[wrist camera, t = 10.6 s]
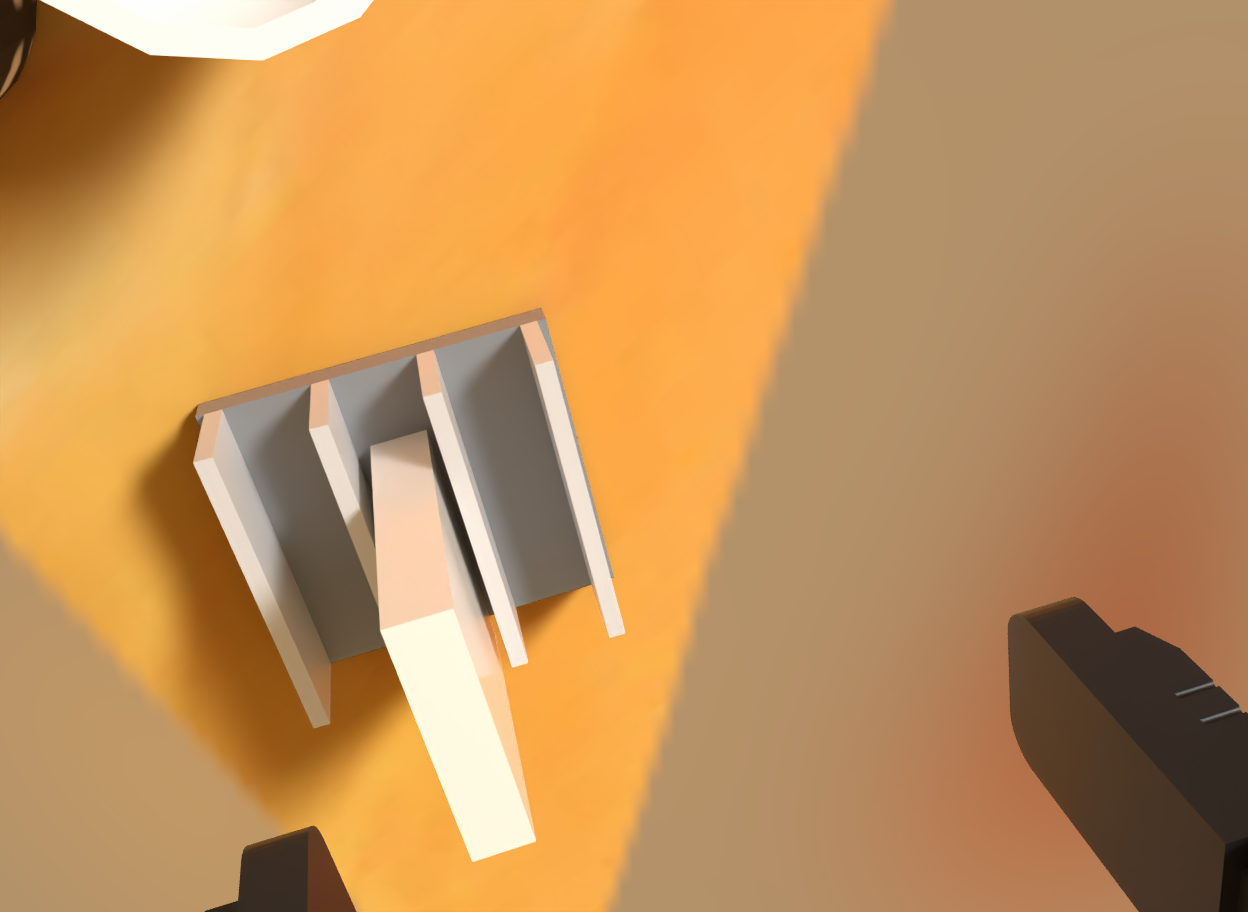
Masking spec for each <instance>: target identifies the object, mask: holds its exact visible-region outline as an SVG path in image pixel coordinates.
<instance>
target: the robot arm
mask: <svg viewBox="0 0 1248 912" xmlns="http://www.w3.org/2000/svg"><path fill="white" fill-rule="evenodd" d="M1008 650H1009V651H1008V654H1009V684H1010V685H1009V686H1010V712H1011V721H1012V726H1013V730H1014V733H1015V736H1016V739H1017V742H1018V744H1019V747H1020V749H1021V751H1022V753H1023V755H1024V757H1025V759H1026V761H1027V763H1028V764H1029V766H1030V767H1031V769H1032V770H1033V771H1034V773H1035V774H1036V775H1037V777H1038V778H1039V779H1040V781H1041V782H1042V783H1043V785H1044V786H1045V787H1046V789H1047V790H1048V791H1049V793H1050V794H1051V795H1052V797H1053V798H1054V799H1055V801H1056V802H1057V803H1058V805H1059V806H1060V807H1061V809H1062V810H1063V811H1064V813H1065V814H1066V815H1067V817H1068V818H1069V819H1070V821H1071V822H1072V823H1073V825H1074V826H1075V827H1076V828H1077V830H1078V831H1079V833H1080V834H1081V835H1082V837H1083V838H1084V839H1085V841H1086V842H1087V843H1088V845H1089V846H1090V847H1091V849H1092V850H1093V851H1094V852H1095V854H1096V855H1097V857H1098V858H1099V859H1100V861H1101V862H1102V863H1103V865H1104V866H1105V867H1106V869H1107V870H1108V871H1109V872H1110V874H1111V875H1112V877H1113V878H1114V879H1115V880H1116V882H1117V883H1118V885H1119V886H1120V887H1121V889H1122V890H1123V891H1124V892H1125V894H1126V895H1127V897H1128V898H1129V899H1130V901H1131V902H1132V903H1133V905H1134V906H1135V907H1136V908H1137V910H1138V911H1139V912H1248V713H1247V712H1245V713H1242V712H1241V710H1240V708H1239V705H1238V704H1237V703H1236V702H1235V701H1234V700H1233V699H1232V698H1231V697H1230V696H1229V695H1228V694H1227V693H1226V692H1225V691H1224V690H1223V689H1222V688H1221V687H1220V686H1218V687H1215V685H1214V684H1213V680H1212V679H1211V678H1210V677H1209V676H1208V675H1207V674H1206V673H1205V672H1204V671H1203V670H1202V669H1201V668H1200V667H1199V666H1198V665H1196V663H1194V662H1193V661H1192V660H1191V659H1190V658H1189V657H1188V656H1187V655H1186V654H1185V653H1184V652H1183V651H1182V650H1181V649H1180V648H1178V647H1176V646H1174V645H1172V644H1170V643H1168V642H1165V641H1163V640H1161V639H1159V638H1157V637H1155V636H1153V635H1151V634H1149V633H1147V632H1145V631H1143V630H1140V629H1139V628H1137V627H1132V628H1129V629H1126V630H1123V631H1119V632H1116V633H1115V632H1114V631H1113V630H1112V629H1111V628H1110V627H1109V626H1108V625H1107V624H1106V623H1105V622H1104V621H1103V620H1102V619H1101V618H1100V617H1099V616H1098V615H1097V614H1096V613H1095V612H1094V611H1093V610H1092V609H1091V608H1090V607H1089V606H1088V605H1087V604H1086V603H1085V602H1084V601H1082V600H1081V599H1079V598H1076V597H1071V598H1068V599H1065V600H1061V601H1058V602H1055V603H1052V604H1048V605H1046V606H1042V607H1038V608H1035V609H1032V610H1029V611H1025V612H1022V613H1019V614H1015V615H1013V616H1012V617H1011V618H1010V620H1009V623H1008ZM240 873H241V874H240V884H239V885H240V886H239V897H238V901H236V902H233V903H230V904H226V905H223V906H220V907H216V908H213V909H210V910H207V911H205V912H356V910H355V908H354V905H353V903H352V901H351V899H350V896H349V894H348V892H347V890H346V888H345V885H344V883H343V881H342V879H341V877H340V874H339V872H338V870H337V868H336V865H335V863H334V861H333V859H332V857H331V854H330V852H329V850H328V848H327V845H326V843H325V841H324V839H323V837H322V835H321V833H320V831H319V830H318V829H317V828H316V827H315V826H310V827H307V828H304V829H301V830H297V831H294V832H291V833H287V834H284V835H281V836H277V837H274V838H271V839H268V840H264V841H261V842H258V843H255V844H251V845H248V846H246V847H245V848H244V850H243V854H242V860H241V872H240Z"/></svg>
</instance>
